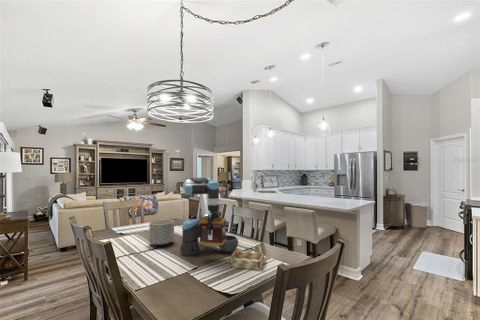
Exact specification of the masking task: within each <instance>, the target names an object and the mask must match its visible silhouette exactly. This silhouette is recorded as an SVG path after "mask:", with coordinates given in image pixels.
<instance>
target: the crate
mask: <svg viewBox="0 0 480 320" xmlns="http://www.w3.org/2000/svg"><path fill="white" fill-rule="evenodd" d="M264 262H265V253H264V252H254V251H243V250H241V251H240V250H234V251H233V253H232V254H231V255H230V256H229V257H228V268H236V269H237V268H238V269H244V268H245V269H244V270H253V269H254V271H261V269H262V266H263V264H264Z"/></svg>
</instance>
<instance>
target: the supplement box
mask: <svg viewBox="0 0 480 320" xmlns="http://www.w3.org/2000/svg"><path fill="white" fill-rule="evenodd" d="M200 220H201V219H200ZM200 220H199V221H200ZM207 221H208V217H205V218H204V219H202V220H201V221H200V237H199V244H200V245H208V246H209V245H211V246H212V245H213V246H219V245H223V243H224V242H225V241H226V235H227V234H226V233H227V218H226V217H219V218H215V219H214V220H213V221H212V240H208V230H207Z"/></svg>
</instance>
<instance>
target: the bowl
mask: <svg viewBox="0 0 480 320" xmlns="http://www.w3.org/2000/svg"><path fill="white" fill-rule="evenodd" d="M238 246H239V240H238V237H237V236H235V235H229V234H226V241H225V242H224V243H223V245H218V247H219V249H220V250H221V251H223V252H226V253H227V252H228V253H230V252H235V251H236V249H237V248H238Z"/></svg>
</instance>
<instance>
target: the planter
mask: <svg viewBox="0 0 480 320" xmlns="http://www.w3.org/2000/svg"><path fill="white" fill-rule="evenodd" d="M148 239H149V243H150V244H152V245H155V246H157V247H162V246H163V247H164V246H167V245H169V244H170V243H172V242H173V241H174V240H175V220H173V219H168V218H167V219H165V218H164V219H155V220H152V221H149V238H148Z"/></svg>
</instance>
